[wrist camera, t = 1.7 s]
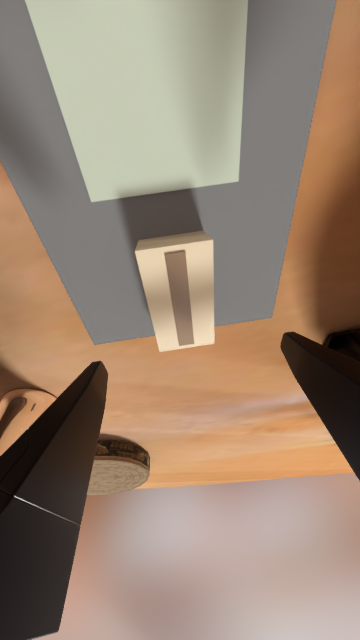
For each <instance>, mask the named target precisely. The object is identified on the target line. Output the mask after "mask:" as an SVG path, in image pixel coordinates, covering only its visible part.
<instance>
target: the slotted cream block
mask: <svg viewBox="0 0 360 640" xmlns="http://www.w3.org/2000/svg"><path fill="white" fill-rule="evenodd" d="M135 254H136V259H137V263H138V267H139V271H140V275H141V279H142V283H143V287H144V291H145V295H146V299H147V303H148V307H149V311H150V315H151V319H152V323H153V327H154V331H155V335H156V339H157V343H158V347H159V352H163V351H169V350H176V349H182V348H189V347H195V346H202V345H208V344H214V263H213V239H212V238H211V237H210V236H209V235H208V234H206V233H205V232H204V231H198V232H191V233H184V234H177V235H170V236H163V237H156V238H150V239H143V240H138V243H137V246H136V249H135Z"/></svg>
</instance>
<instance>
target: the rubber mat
mask: <svg viewBox="0 0 360 640" xmlns="http://www.w3.org/2000/svg"><path fill="white" fill-rule="evenodd" d="M335 5H336V0H0V161H1V163H2V165H3V167H4V169H5V171H6V173H7V175H8V177H9V179H10V181H11V183H12V185H13V187H14V189H15V191H16V193H17V194H18V196H19V198H20V200H21V202H22V204H23V206H24V208H25V210H26V212H27V214H28V216H29V218H30V220H31V222H32V224H33V226H34V228H35V230H36V232H37V234H38V236H39V238H40V239H41V241H42V243H43V245H44V247H45V249H46V251H47V253H48V255H49V257H50V259H51V261H52V263H53V265H54V267H55V269H56V271H57V273H58V275H59V277H60V279H61V281H62V283H63V284H64V286H65V288H66V290H67V292H68V294H69V296H70V298H71V300H72V302H73V304H74V306H75V308H76V310H77V312H78V314H79V316H80V318H81V320H82V322H83V324H84V326H85V328H86V330H87V331H88V333H89V335H90V337H91V339H92V341H93V343H94V345H97V344H103V343H110V342H116V341H123V340H130V339H136V338H143V337H149V336H156V335H155V331H154V327H153V323H152V319H151V315H150V311H149V307H148V303H147V299H146V295H145V291H144V287H143V283H142V279H141V275H140V271H139V267H138V263H137V259H136V254H135V249H136V246H137V243H138V240H143V239H150V238H156V237H163V236H170V235H177V234H184V233H191V232H198V231H204V232H205V233H206V234H208V235H209V236H210V237H211V238H212V239H213V263H214V327H215V326H221V325H228V324H234V323H241V322H247V321H254V320H260V319H267V318H272V315H273V310H274V305H275V300H276V295H277V290H278V285H279V280H280V275H281V271H282V266H283V261H284V256H285V251H286V246H287V241H288V236H289V231H290V226H291V221H292V216H293V211H294V206H295V202H296V197H297V192H298V187H299V182H300V177H301V172H302V167H303V162H304V157H305V152H306V147H307V142H308V138H309V133H310V128H311V123H312V118H313V113H314V108H315V103H316V98H317V93H318V88H319V83H320V78H321V74H322V69H323V64H324V59H325V54H326V49H327V44H328V39H329V34H330V29H331V24H332V19H333V14H334V10H335Z"/></svg>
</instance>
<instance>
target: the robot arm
mask: <svg viewBox="0 0 360 640" xmlns="http://www.w3.org/2000/svg"><path fill="white" fill-rule="evenodd" d="M281 350H282V352H283V354H284V356H285V358H286V360H287V362H288V365H289V367H290V369H291V371H292V373H293V375H294V377H295V378H296V380H297V382H298V383H299V385H300V386H301V388H302V390H303V391H304V393H305V394H306V396H307V398H308V399H309V401H310V402H311V404H312V406H313V407H314V409H315V410H316V412H317V414H318V415H319V417H320V418H321V420H322V422H323V423H324V425H325V426H326V428H327V430H328V431H329V433H330V434H331V436H332V438H333V439H334V441H335V442H336V444H337V446H338V447H339V449H340V450H341V452H342V453H343V455H344V457H345V458H346V460H347V461H348V463H349V465H350V466H351V468H352V469H353V471H354V473H355V474H356V476H357V477H358V479H359V480H360V329H357V330H351V331H344V332H338V333H333V334H331V335H329V337H328V339H327V341H326V343H325V345H324V346H323V345H321V344H319V343H317V342H315V341H312V340H310V339H308V338H306V337H304V336H302V335H300V334H297V333H295V332H286V333H284V334H283V338H282V341H281ZM107 380H108V373H107V370H106V368H105V366H104V364H103V363H102V362H101V361H96V362H92V363H91V364H90V365H89V366H88V367H87V368H86V369H85V370H84V371H83V372H82V373H81V374H80V375H79V376H78V377H77V378H76V379H75V380H74V381H73V382H72V383H71V385H70V386H69V387H68V388H67V389H66V390H65V391H64V392H63V393H62V394H61V395H60V396H59V397H58V398H57V399H56V400H55V401H54V402H53V403H52V404H51V405H50V406H49V407H48V408H47V409H46V410H45V411H44V412H43V413H42V414H41V415H40V416H39V417H38V418H37V420H36V421H35V422H34V423H33V424H32V425H31V426H30V427H29V428H28V429H27V430H26V431H25V432H24V433H23V434H22V435H21V436H20V437H19V438H18V439H17V440H16V441H15V442H14V443H13V444H12V445H11V446H10V447H9V448H8V449H7V450H6V451H5V452H4V453H3V454H2V455H1V456H0V640H32V639H35V638H39V637H42V636H46V635H49V634H53V633H56V632H58V630H59V626H60V622H61V618H62V613H63V608H64V603H65V598H66V594H67V589H68V584H69V579H70V574H71V569H72V565H73V559H74V555H75V550H76V545H77V541H78V535H79V530H80V525H81V521H82V516H83V511H84V506H85V501H86V496H87V492H88V487H89V482H90V477H91V472H92V467H93V463H94V458H95V453H96V448H97V443H98V438H99V433H100V429H101V424H102V419H103V414H104V409H105V402H106V391H107Z"/></svg>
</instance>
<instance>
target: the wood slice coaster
mask: <svg viewBox="0 0 360 640" xmlns="http://www.w3.org/2000/svg"><path fill="white" fill-rule="evenodd" d="M149 469H150V457H149V454H148V452H147V451H146V450H145V449H143V448H142V447H141V446H138V445H135V444H133V443H130V442H124V441H118V440H98V443H97V448H96V453H95V458H94V463H93V467H92V472H91V477H90V482H89V487H88V492H87V495H104V494H113V493H120V492H124V491H127V490H131V489H134V488H136V487H138V486H141V485H142V484H143V483H145V482H146V481H147V480H148V477H149Z"/></svg>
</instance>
